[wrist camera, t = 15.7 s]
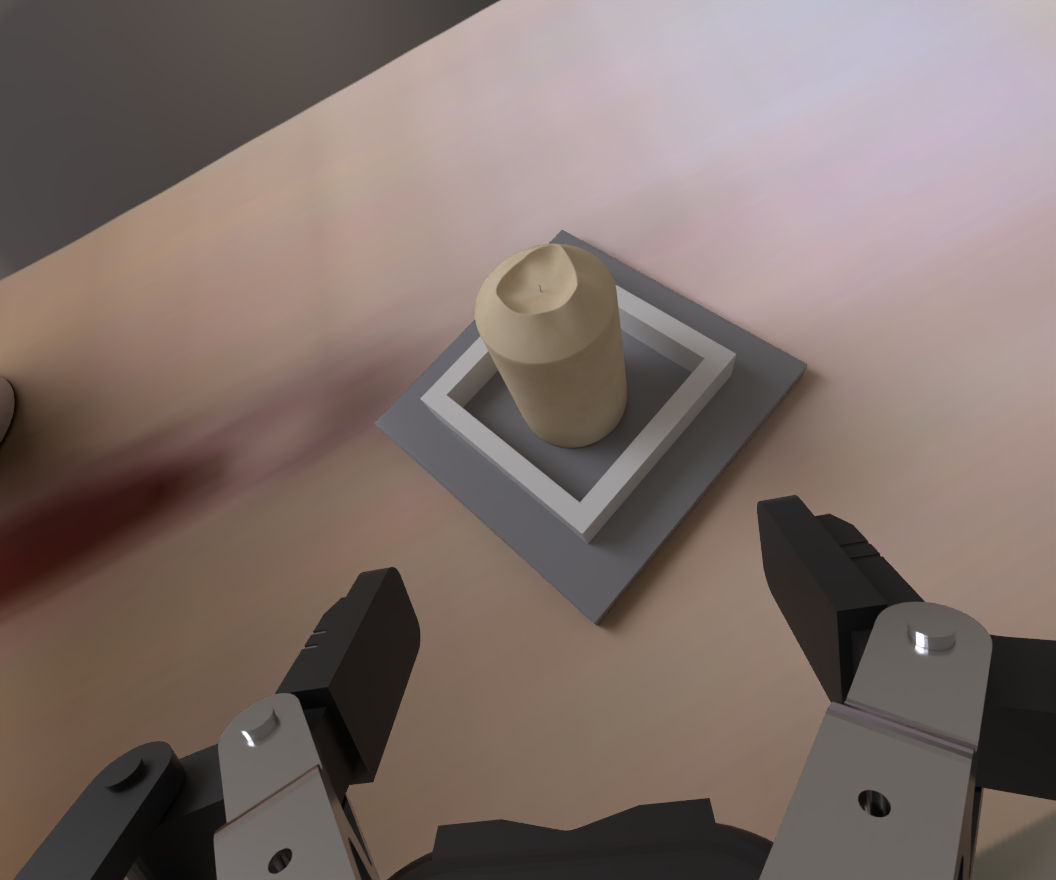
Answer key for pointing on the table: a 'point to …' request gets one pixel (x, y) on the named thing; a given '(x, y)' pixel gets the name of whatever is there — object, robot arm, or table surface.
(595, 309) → the candle
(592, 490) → the candle tray
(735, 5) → the table surface
